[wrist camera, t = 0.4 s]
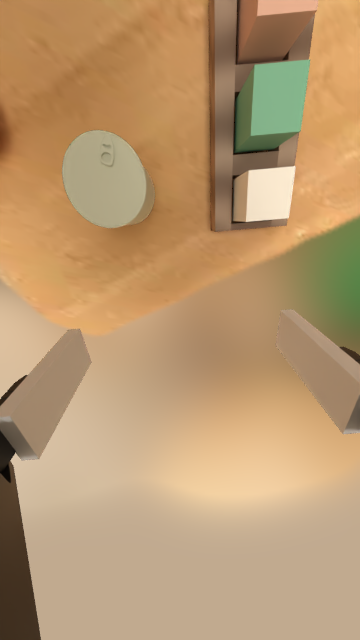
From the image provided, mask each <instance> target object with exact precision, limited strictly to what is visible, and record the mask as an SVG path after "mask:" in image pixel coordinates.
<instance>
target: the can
mask: <svg viewBox="0 0 360 640" xmlns="http://www.w3.org/2000/svg"><path fill="white" fill-rule="evenodd" d="M62 177H63V183H64V187H65V191H66V193H67V196H68V198H69V200H70V202H71V203H72V205H73V206H74V208H75V209H76V210H77V211H78V213H79V214H80V215H82V216H83V217H84V218H85V219H86V220H88V221H89V222H91V223H93V224H95V225H97V226H100V227H104V228H118V227H122V226H124V225H134V224H137V223H140V222H142V221H143V220H144V219H145V218H147V216H148V215H149V214H150V212H151V210H152V208H153V205H154V201H155V189H154V184H153V181H152V179H151V177H150V175H149V173H148V172H147V170H146V169H145V168H144V167H143V165H142V163H141V161H140V159H139V157H138V155H137V154H136V152H135V151H134V149H133V148H132V147H131V146H130V145H129V144H128V143H127V142H126V141H125V140H124V139H122V138H121V137H119V136H118V135H116V134H113V133H111V132H108V131H103V130H92V131H88V132H85V133H83V134H81V135H79V136H78V137H77V138H75V139H74V140H73V141H72V143H71V144H70V145H69V147H68V149H67V151H66V153H65V156H64V159H63V166H62Z"/></svg>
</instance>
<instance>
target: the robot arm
mask: <svg viewBox="0 0 360 640" xmlns="http://www.w3.org/2000/svg"><path fill="white" fill-rule="evenodd" d="M276 347H277V348H278V350H279V351H280V352H281V353H282V355H283V356H284V357H285V359H286V360H287V361H288V363H289V364H290V365H291V366H292V368H293V369H294V370H295V372H296V373H297V374H298V376H299V377H300V378H301V379H302V381H303V382H304V384H305V385H306V386H307V387H308V389H309V390H310V391H311V393H312V394H313V395H314V397H315V398H316V399H317V401H318V402H319V403H320V405H321V406H322V407H323V408H324V410H325V411H326V413H327V414H328V415H329V416H330V418H331V419H332V420H333V421H334V423H335V424H336V426H337V427H338V428H339V430H340V431H341V432H342V433H343V434H351V433H360V356H359V355H358V354H357V353H356V352H354V351H352V350H349V349H347V348H345V347H338V346H337V345H336V344H334V343H333V342H332V341H331V340H329V339H328V338H327V337H326V336H325V335H323V334H322V333H321V332H320V331H319V330H317V329H316V328H315V327H314V326H312V325H311V324H310V323H309V322H308V321H306V320H305V319H304V318H302V317H301V316H300V315H299V314H298V313H297V312H295V311H294V310H293V309H291V310H281V313H280V320H279V326H278V333H277V340H276ZM90 364H91V359H90V356H89V353H88V351H87V348H86V345H85V342H84V339H83V336H82V334H81V331H80V329H71V330H68V331H67V332H66V333H65V334H64V335H63V336H62V337H61V339H60V340H59V341H58V342H57V343H56V344H55V345H54V346H53V348H52V349H51V350H50V351H49V352H48V353H47V354H46V355H45V357H44V358H43V359H42V360H41V361H40V362H39V363H38V364H37V366H36V367H35V368H34V369H33V370H32V371H31V373H30V374H29V375H25V376H24V377H22V378H21V379H19V380H18V381H17V382H15V383H14V384H13V385H12V386H11V387H10V389H9V390H8V391H7V392H6V393H5V394H4V395H3V396H2V397H1V399H0V640H41V637H40V631H39V624H38V618H37V612H36V605H35V599H34V593H33V587H32V581H31V574H30V568H29V561H28V555H27V549H26V543H25V536H24V530H23V524H22V517H21V512H20V505H19V498H18V492H17V486H16V479H15V473H14V467H13V465H12V463H11V461H10V460H11V458H12V457H13V456H14V454H15V452H16V454H17V455H18V456H19V457H20V459H21V460H34V459H39V458H40V456H41V454H42V453H43V450H44V449H45V447H46V445H47V443H48V442H49V440H50V438H51V436H52V434H53V432H54V431H55V429H56V427H57V425H58V423H59V421H60V419H61V417H62V416H63V414H64V412H65V410H66V408H67V407H68V405H69V403H70V401H71V399H72V397H73V395H74V394H75V392H76V390H77V388H78V386H79V384H80V383H81V381H82V378H83V377H84V375H85V373H86V371H87V370H88V368H89V366H90Z"/></svg>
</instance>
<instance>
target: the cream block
mask: <svg viewBox="0 0 360 640" xmlns="http://www.w3.org/2000/svg"><path fill="white" fill-rule="evenodd" d="M295 168H296V166H292V167H280V168H269V169H258V170H248V171H247V172H245V173H244V174H242V175H240V176H239V177H237V178H235V179H234V180H233V208H232V221H241V222H250V221H262V220H273V219H285V218H289V212H290V205H291V198H292V190H293V183H294V176H295Z"/></svg>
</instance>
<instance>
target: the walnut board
mask: <svg viewBox="0 0 360 640" xmlns="http://www.w3.org/2000/svg"><path fill="white" fill-rule="evenodd" d="M237 12H238V0H209V75H210V163H211V230H212V231H215V232H218V231H229V230H241V229H253V228H264V227H276V226H287V219H288V218H285V219H273V220H262V221H250V222H233V223H231V208H232V179H235V178H237V177H239V176H240V175H242V174H244V173H245V172H247V171H248V170H258V169H269V168H280V167H292V166H295V159H296V151H297V144H298V136H299V133H297V134H296V135H294V136H293V137H291V138H290V139H288V140H287V141H285V142H284V143H282V144H281V145H279V146H278V147H276V148H275V149H273V150H268V152H261V153H250V154H239V155H233V133H234V107H235V103H236V98H237V97H238V95H239V93H240V91H241V89H242V87H243V85H244V84H245V82H246V80H247V78H248V76H249V74H250V72H251V71H252V69H253V67H254V65H257V64H268V63H278V62H289V61H300V60H309V54H310V47H311V39H312V32H313V24H314V17H315V14H314V15H313V17H312V18H311V19H310V21H309V22H308V24H307V25H306V27H305V28H304V29H303V31H302V32H301V34H300V35H299V37H298V38H297V40H296V41H295V42H294V44H293V45H292V47H291V48H290V50H289V51H288V52H287V54H286V55H285V57H284V58H283V60H282V61H273V62H263V63H252V64H241V65H235V58H236V21H237Z"/></svg>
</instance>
